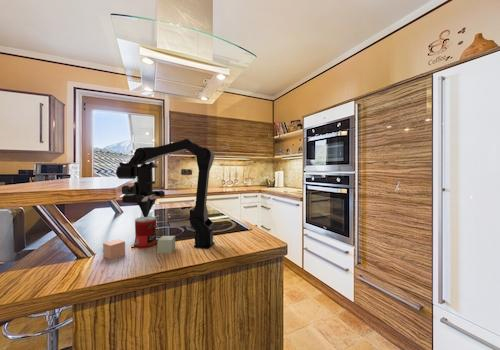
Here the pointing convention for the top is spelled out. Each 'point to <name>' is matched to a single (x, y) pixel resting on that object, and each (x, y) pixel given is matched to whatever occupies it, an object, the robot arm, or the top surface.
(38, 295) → the top surface
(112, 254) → the terracotta block
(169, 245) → the sage block
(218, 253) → the top surface
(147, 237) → the canned food
